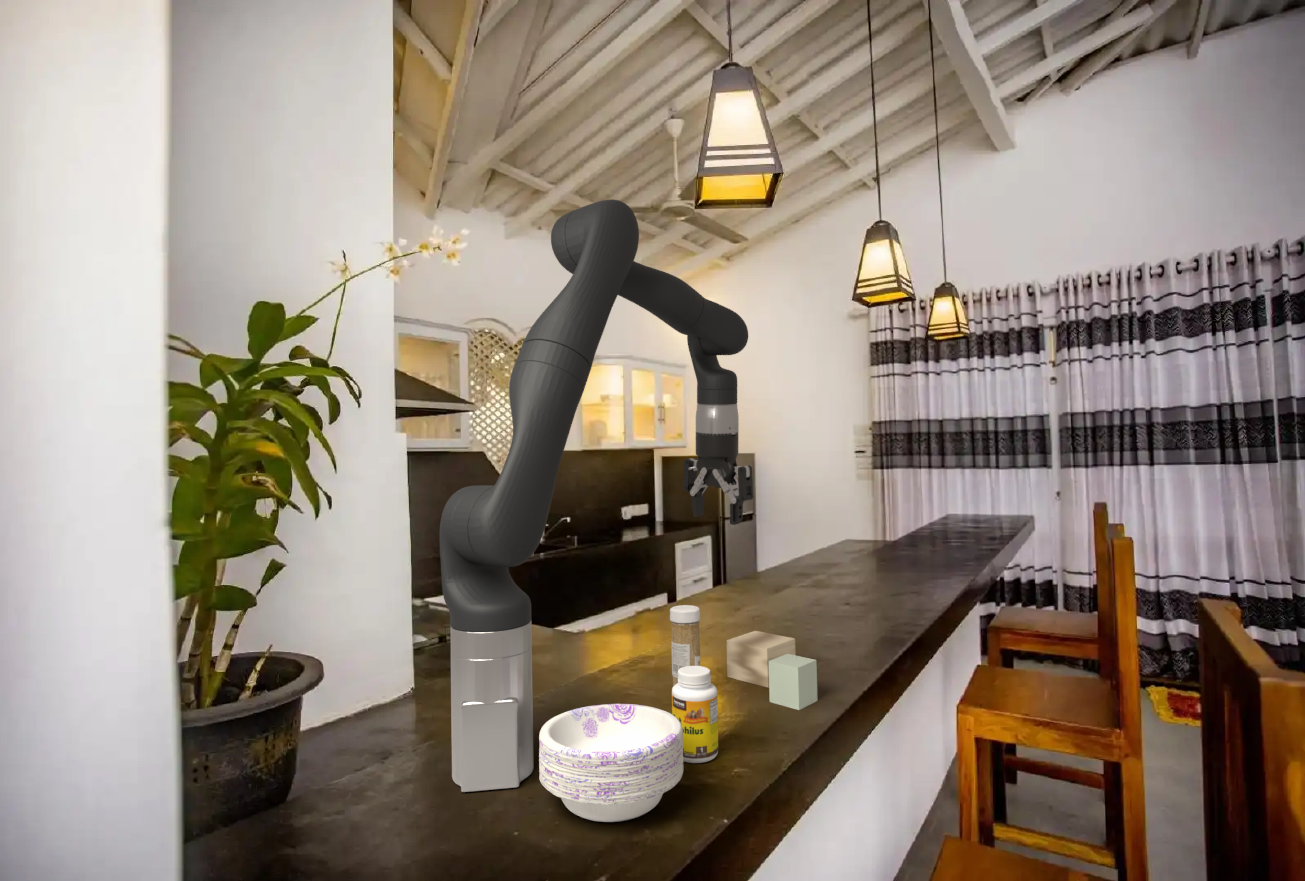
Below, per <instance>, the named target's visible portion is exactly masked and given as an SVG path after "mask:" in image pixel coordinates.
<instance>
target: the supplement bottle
mask: <svg viewBox="0 0 1305 881" xmlns="http://www.w3.org/2000/svg"><path fill="white" fill-rule="evenodd" d="M711 680H712V677H711V669H709V668H708V667H706V666H702V665H701V666H686V667H682V668H680V669H679V670H678V683H677V684H676V685H674V687H673V686H672V688H671V714H672V715H673V716H675V717H676V718H677V719H678V720H679V722H680V723H681V725H682V728H683V762H684V763H685V762H686V763H691V764H702V763H707V762H710V761H712V760H714V759H715V758H716V757H717V756H718V753H719V720H718V719H719V712H718V711H719V710H718V706H719V705H718V704H719V703H718V702H719V701H718V700H719V699H718V688H717V687H716V686H715V685H714V684H713V683H712V681H711Z"/></svg>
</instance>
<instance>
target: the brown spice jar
mask: <svg viewBox="0 0 1305 881" xmlns="http://www.w3.org/2000/svg"><path fill="white" fill-rule="evenodd" d="M669 620H670V623H671V624H670V625H671V628H670V630H671V641H670V643H671V644H670V646H671V675H672V688H673V687H674V685H676V684H677V683H678V670H679V669H680V668H682V667H686V666H702V665H701V645H700V620H701V610H700V607H698V606H696V605H693V604H691V605H689V604H683V605H680V604H679V605H676V606H672V607H671V608H670V609H669Z"/></svg>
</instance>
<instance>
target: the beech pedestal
mask: <svg viewBox="0 0 1305 881" xmlns="http://www.w3.org/2000/svg"><path fill="white" fill-rule="evenodd" d="M786 654H791V655H796V638H793V637H790V636H784V635H780V634H779V635H778V634H774V633H768V632H763V631H759V630H753V631H750V632H747V633H743V634H741V635H738V636H735V637H732V638H729V639H727V640H726V675H727V678H730V679H734V680H737V681H741V682H745V683H749V684H753V685H756V686H760V687H764V688H769V661H770V660H773V659H775V658H778V657H780V656H783V655H786ZM796 656H797V655H796Z"/></svg>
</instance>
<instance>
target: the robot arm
mask: <svg viewBox="0 0 1305 881" xmlns="http://www.w3.org/2000/svg"><path fill="white" fill-rule="evenodd" d="M639 241H640V229H639V224H638V220H637V217H636V215H635V213H634V211H633V210H632V208H631V207H630V205H628V204H627V203H625V202H624V201H621V200H618V199H604V200H603V199H602V200H599V201H598V200H597V201H596V202H593V203H590V204H587V205H584V206H582V207H579V208H576V209H572V210H571V211H569V212H567V213H565V214H563V215H561V216H560V217H559V218H558V219H557V220H556V221H555V222H554V224H553V226H552V229H551V233H550V244H551V249H552V252H553V255H554V257H555V259H556V260H557V261H558V263H559V264H560V265H561V266H562V267H563V269H564V270H566V271H567V272H569V273H570V274H572V275H571V276H570V279H569V281H568V282H567V283H566V284H565V286H564V287H563V289H562V290H561V291H560V292H559V293H558V294H557V296H556V297H555V298H554V299H553V300H552V302H551V303H550V304H549V305H548V306H547V307H546V308H545V309H544V311H542V313H540V315H539V316H538V318H537V319H536V320H535V322H534V323H533V324H532V326H531V327H530V329H529V330H528V332H527V334H526V335H525V338H524V340H523V342H522V344H521V347H520V350H519V353H518V355H517V357H516V360H515V362H514V365H513V367H512V370H511V374H510V378H509V383H508V384H509V386H508V396H509V406H510V412H511V413H510V414H511V420H512V421H511V422H512V437H511V438H512V439H511V442H510V447H509V450H508V452H507V457H506V458H505V462H504V464H503V467H502V470H501V472H500V474H499V476H498V477H497V480H496V482H495V484H494V485H489V484H488V485H486V484H485V485H483V484H482V485H481V484H480V485H469V486H464V487H462V488H460V489H458V490H457V491H456V492H454V493H453V494H452V495H451V496H450V497H449V498H448V500H447V501H446V503H445V505H444V507H443V510H442V513H441V518H440V522H439V555H440V572H441V573H440V574H441V586H442V595H443V599H444V603H445V604H446V605H445V606H446V607H447V609H448V613H449V618H450V620H449V621H450V622H449V624H450V625H449V626H450V701H451V702H450V706H451V707H450V709H451V711H450V712H451V713H450V715H451V716H450V718H451V721H450V722H451V723H450V724H451V725H450V726H451V731H450V732H451V734H450V735H451V778H452V781H453V782H454V783H455V784H456V785H457V786H459V787H460V790H461V792H462V793H466V792H467V793H469V792H480V791H489V790H500V789H501V790H502V789H510V788H511V789H512V788H513V789H514V788H518V787H519V786H520V783H521V782H522V781H524V780H525V779H527V778H528V777H529V776H530V775H531V774H532V773H533V771H534V724H533V723H534V720H533V719H534V718H533V716H534V715H533V713H534V712H533V709H534V706H533V653H532V651H533V649H532V648H533V647H532V645H533V639H532V638H533V637H532V636H533V634H532V633H533V632H532V627H533V626H532V602H531V599H530V597H529V595H528V594H527V593H526V592H525V591H523V590H522V589H521V588H520V587H519V586H518V585H517V584H516V583H515V581H514V579H513V577H512V576H511V573H510V569H509V568H511V567H517V566H520V565H522V564H524V563H525V562H526V561H528V560H529V559H530V558H531V557H532V556H533V554H535V552H536V550H537V548H538V547H539V545H540V543H541V541H542V539H543V536H544V532H545V529H546V525H547V522H548V517H549V513H550V509H551V504H552V499H553V495H554V491H555V486H556V482H557V478H558V475H559V474H558V473H559V469H560V465H561V461H562V458H563V454H564V451H565V448H566V445H567V441H568V438H569V436H570V431H571V427H572V426H573V425H572V424H573V421H574V418H575V416H576V412H577V409H578V407H579V404H580V402H581V399H582V397H583V393H584V392H585V388H586V385H587V382H588V380H589V376H590V373H591V371H592V370H591V369H592V367H593V363H594V359H595V356H596V352H597V350H598V348H599V344H600V342H601V339H602V336H603V334H604V331H605V328H606V325H607V323H608V320H609V318H610V314H611V311H612V308H613V306H614V304H615V302H616V299H617V298H618V296H619V297H622V298H623V299H625V300H627V301H629V302H631V303H632V304H635V305H637V306H639V307H641V308H642V309H644V310H646V311H648V312H649V313H651V314H652V315H653V316H655V317H657V318H658V319H659V320H661V321H662V322H663V323H664V324H666V325H668V326H669V327H671V328H672V329H673V330H675V331H676V332H678V333H680V334H682V335H684V336H686V338H687V339H686V340H687V346H688V347H687V348H688V352H689V355H690V359H691V363H692V367H693V372H694V374H695V378H696V383H697V384H696V411H695V455H696V456H697V458H696V457H693V458H692V457H691V458H686V459H684V461H683V477H682V490H683V491H684V492H688V493H689V495H690V496H691V511H692V513H693V516H694V517H697V518H698V517H702V516H704V514H705V495H704V493H705V491H706V490H707V488H708V487H715V488H718V489H721V490H722V492H723V493H725V494H726V495H727V497H728V499H729V500H730V503H729V524H730V525H733V526H736V525H739V524H741V522H742V521H743V518H744V516H743V515H744V513H743V512H744V503H745V502H747V501H751V500H753V499H754V485H753V484H754V481H753V478H754V477H753V467H752V466H751V465H743V466H742V465H738V463H737V458H738V455H739V428H740V426H739V424H740V423H739V419H740V418H739V416H740V415H739V410H738V377H737V373H736V372H734V370H732V369H731V370H730V369H726V368H725V367H724V368H723V367H722V366H721V364H720V362H719V360H718V356H733V355H736V354H739V353H740V352H742V351H743V350H744V349H745V347H746V346H747V344H748V341H749V330H748V326H747V324H746V322H745V320H744V319H743V317H741V316H740V315H739V314H738V313H737V312H735V311H734V310H732V309H730V308H728V307H727V306H724V305H721V304H719V303H717V302H715V301H712V300H710V299H708V298H705V297H704V296H703V295H702V294H700V292H698V291H697V290H696V289H694V288H693V287H692V286H691V285H690V284H688V283H687V282H686V281H684V280H683V279H681V278H679V277H678V276H676V275H673V274H671V273H669V272H666V271H663V270H660V269H656V268H653V267H651V266H647V265H645V264H642V263H640V262H637V261H635V258H636V255H637V252H638V249H639V248H638V247H639V243H640V242H639ZM698 473H699V474H698ZM730 484H731V485H730Z"/></svg>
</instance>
